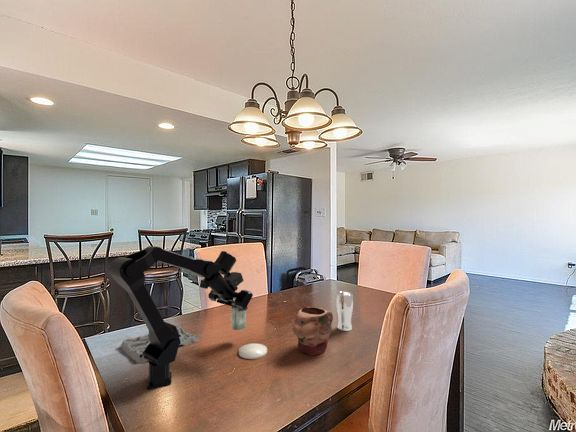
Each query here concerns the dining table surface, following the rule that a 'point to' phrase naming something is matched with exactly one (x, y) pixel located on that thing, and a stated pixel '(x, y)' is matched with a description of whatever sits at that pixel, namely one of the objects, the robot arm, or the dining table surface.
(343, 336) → the dining table surface
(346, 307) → the beer glass
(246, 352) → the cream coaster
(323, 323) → the decorative planter
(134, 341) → the wall plaque
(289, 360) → the dining table surface
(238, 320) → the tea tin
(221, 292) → the robot arm
